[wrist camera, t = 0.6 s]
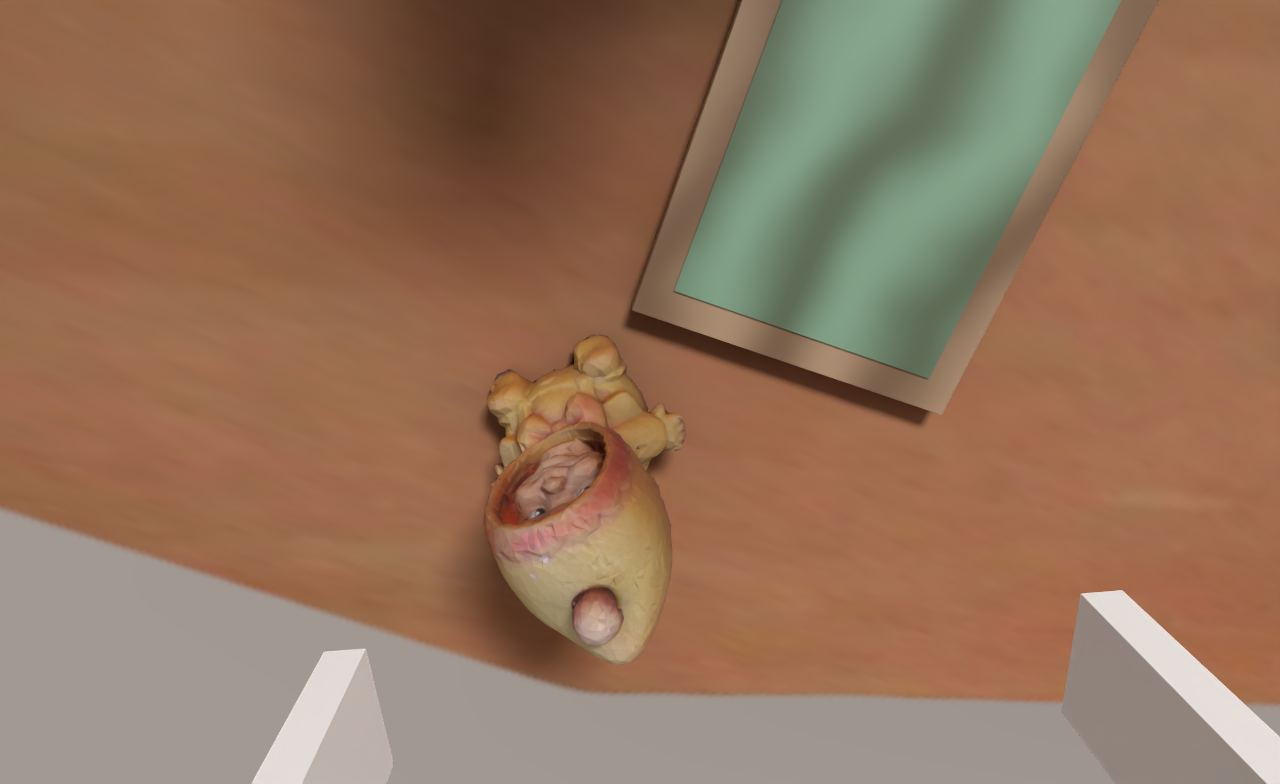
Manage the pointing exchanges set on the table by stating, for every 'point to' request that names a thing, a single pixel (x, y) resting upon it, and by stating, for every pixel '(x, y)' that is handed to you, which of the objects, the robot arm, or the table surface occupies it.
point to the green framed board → (879, 177)
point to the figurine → (583, 501)
